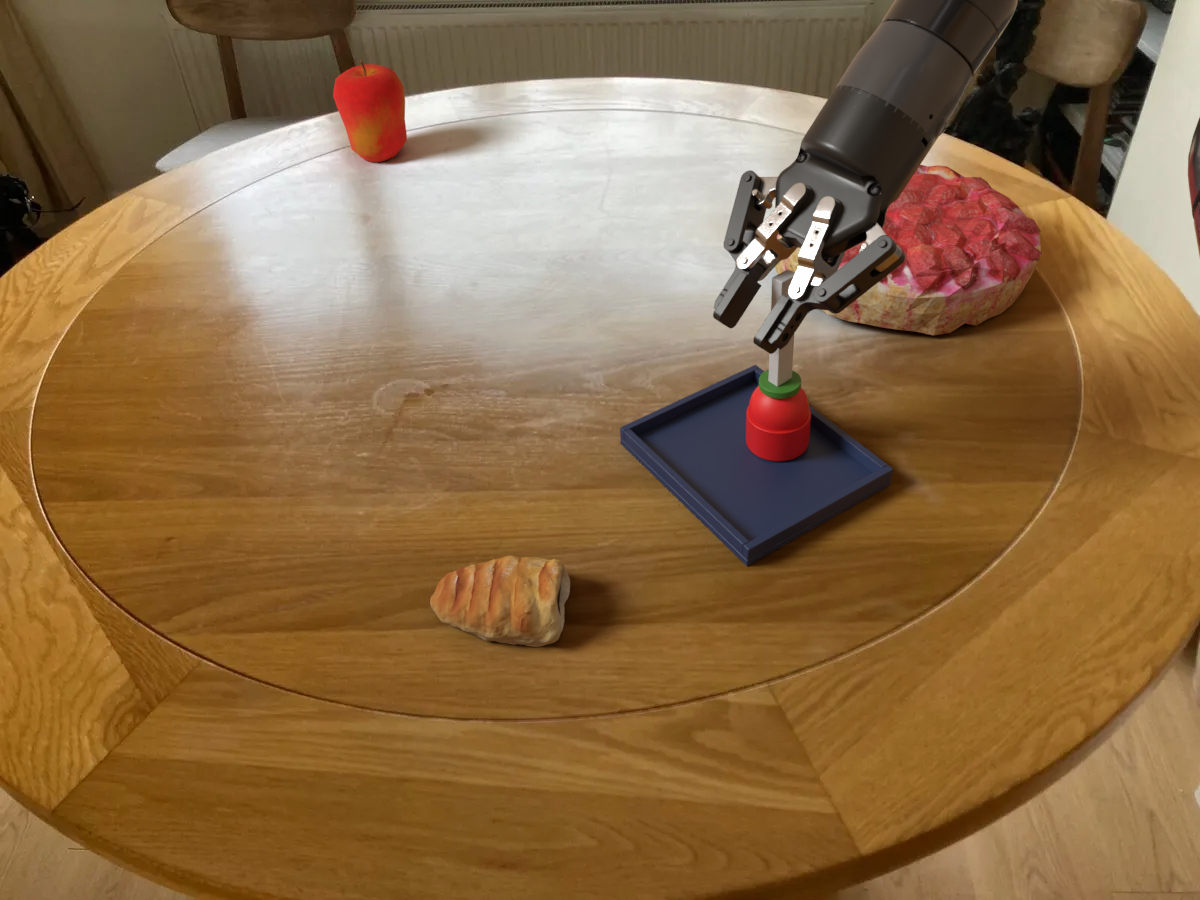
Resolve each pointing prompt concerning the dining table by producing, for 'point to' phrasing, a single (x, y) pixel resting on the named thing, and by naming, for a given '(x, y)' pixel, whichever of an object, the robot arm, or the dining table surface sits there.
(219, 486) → the dining table surface
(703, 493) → the tray
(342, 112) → the apple
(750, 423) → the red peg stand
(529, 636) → the pastry
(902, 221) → the cake
